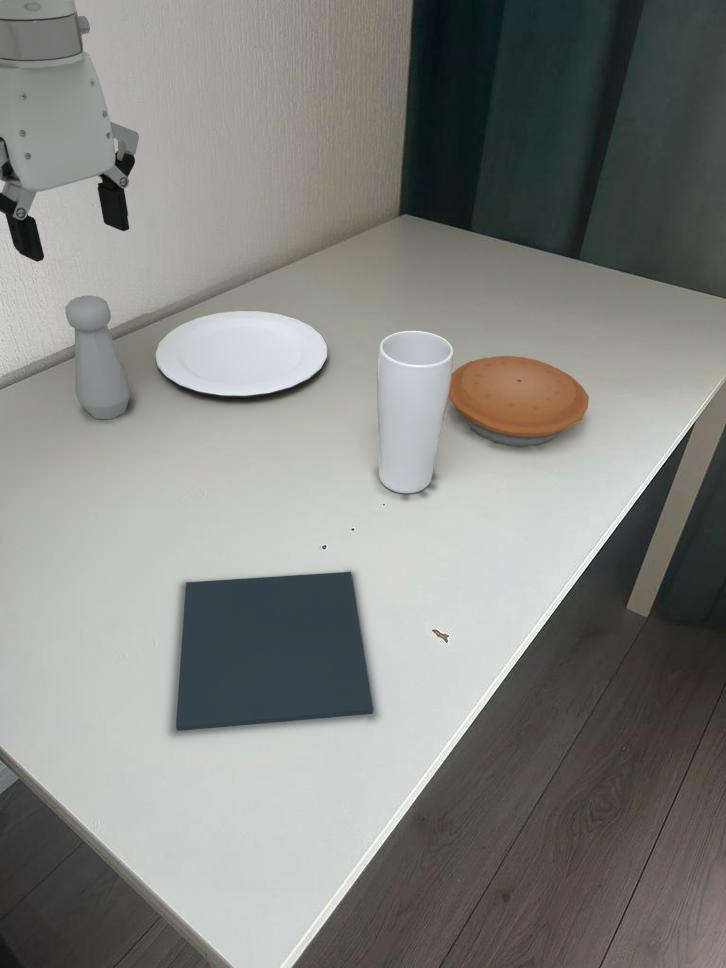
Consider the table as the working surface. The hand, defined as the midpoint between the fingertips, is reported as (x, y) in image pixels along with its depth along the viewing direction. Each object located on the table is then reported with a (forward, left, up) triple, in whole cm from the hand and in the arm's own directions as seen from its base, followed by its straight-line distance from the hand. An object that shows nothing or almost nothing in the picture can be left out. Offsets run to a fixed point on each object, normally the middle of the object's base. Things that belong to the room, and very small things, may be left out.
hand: (76, 241), depth 74 cm
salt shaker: (0, 0, -19) cm, 19 cm away
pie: (+45, -5, -19) cm, 49 cm away
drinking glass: (+31, -15, -19) cm, 39 cm away
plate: (+15, +10, -19) cm, 26 cm away
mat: (+17, -35, -19) cm, 43 cm away
